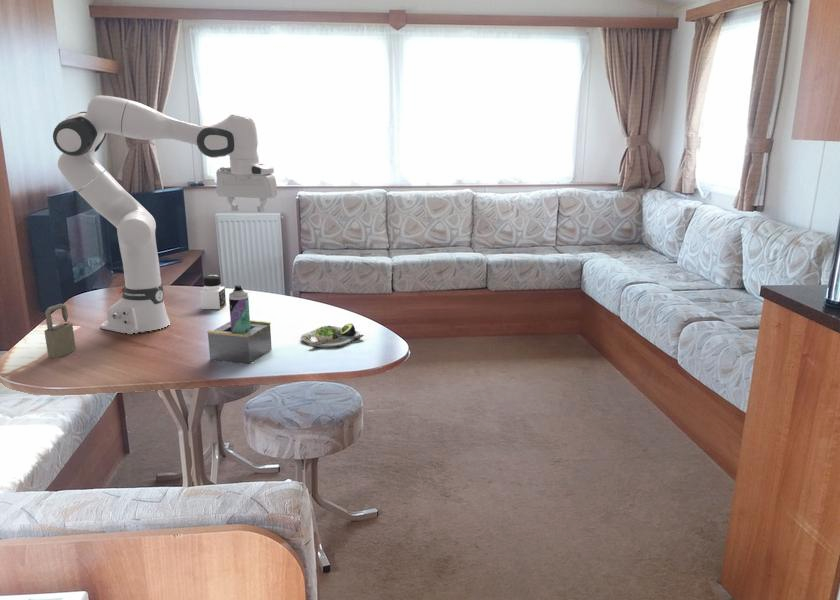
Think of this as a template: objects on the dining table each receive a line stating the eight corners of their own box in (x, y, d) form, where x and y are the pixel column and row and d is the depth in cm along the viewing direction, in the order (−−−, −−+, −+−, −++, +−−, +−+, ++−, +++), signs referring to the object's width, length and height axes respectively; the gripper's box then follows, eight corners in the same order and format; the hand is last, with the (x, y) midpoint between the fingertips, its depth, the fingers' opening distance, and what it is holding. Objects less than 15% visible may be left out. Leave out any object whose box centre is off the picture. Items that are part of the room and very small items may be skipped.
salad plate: (330, 355, 200) (330, 341, 198) (287, 344, 209) (286, 330, 208) (369, 338, 215) (369, 324, 214) (327, 329, 225) (327, 315, 223)
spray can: (236, 348, 201) (231, 283, 196) (254, 348, 201) (250, 283, 196) (230, 354, 196) (225, 287, 191) (248, 354, 196) (244, 288, 191)
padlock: (78, 349, 203) (71, 302, 199) (57, 358, 196) (49, 309, 192) (67, 348, 204) (60, 301, 200) (46, 357, 197) (38, 308, 193)
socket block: (209, 360, 195) (207, 331, 192) (233, 346, 207) (231, 318, 205) (249, 365, 191) (247, 335, 189) (272, 350, 204) (270, 322, 201)
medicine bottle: (220, 310, 245) (218, 278, 242) (201, 309, 245) (198, 278, 242) (226, 304, 252) (224, 273, 249) (207, 304, 252) (204, 273, 249)
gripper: (210, 167, 211) (214, 211, 215) (268, 169, 206) (270, 214, 209) (221, 166, 217) (224, 209, 221) (278, 167, 212) (280, 211, 215)
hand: (247, 211), depth 215 cm, fingers open, 8 cm apart
